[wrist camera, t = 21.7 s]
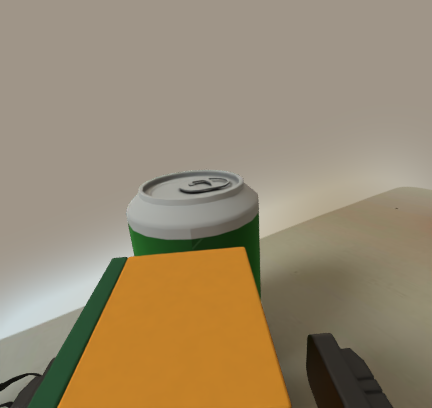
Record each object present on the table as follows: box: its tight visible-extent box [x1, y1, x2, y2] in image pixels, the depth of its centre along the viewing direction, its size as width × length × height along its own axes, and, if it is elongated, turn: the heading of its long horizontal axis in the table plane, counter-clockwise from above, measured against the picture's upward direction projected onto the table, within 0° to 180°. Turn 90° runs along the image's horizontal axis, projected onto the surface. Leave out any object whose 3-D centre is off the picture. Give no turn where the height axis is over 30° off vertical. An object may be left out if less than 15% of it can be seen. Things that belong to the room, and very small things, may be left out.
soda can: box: [126, 170, 261, 300], centre depth 18 cm, size 8×8×12 cm
